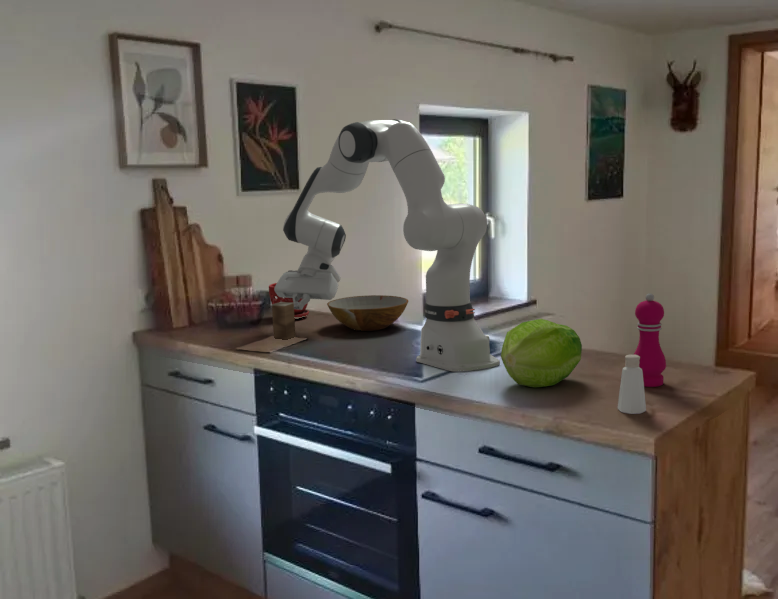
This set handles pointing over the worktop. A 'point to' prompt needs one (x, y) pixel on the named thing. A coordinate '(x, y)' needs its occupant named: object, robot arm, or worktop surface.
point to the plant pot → (280, 299)
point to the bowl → (368, 311)
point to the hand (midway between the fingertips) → (296, 308)
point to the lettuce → (540, 353)
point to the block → (283, 320)
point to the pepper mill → (650, 341)
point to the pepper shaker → (632, 387)
